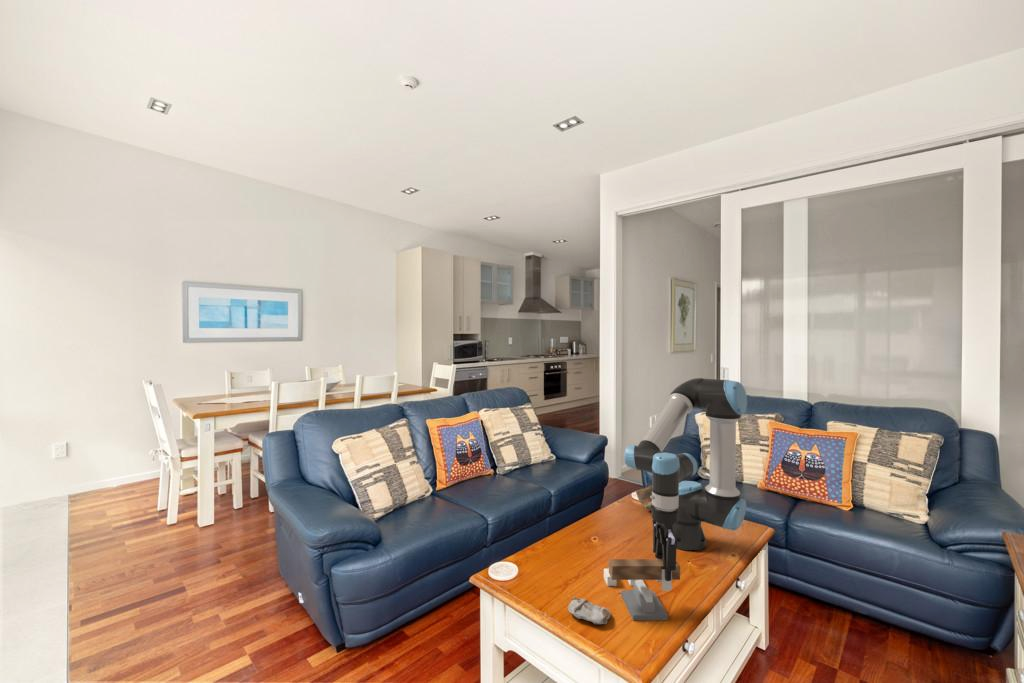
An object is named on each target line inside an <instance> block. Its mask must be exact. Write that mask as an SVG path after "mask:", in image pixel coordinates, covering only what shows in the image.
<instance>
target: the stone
mask: <svg viewBox="0 0 1024 683" xmlns="http://www.w3.org/2000/svg"><path fill="white" fill-rule="evenodd" d="M567 610H568V611H569V613H571V615H573V616H574V617H575V618H577V619H578V620H582V619H583V620H585V621H587V622H590V623H593V625H607V624H608V620H609V619H610V617H611V616H612V614H611V611H610V610H609V609H608V608H606V607H604V606H602V605H601V606H600V605H596V604H595V603H592V602H591V601H589V600H588V599H587V598H578V597H574V598H571V599H570V603H569V604H568V606H567Z"/></svg>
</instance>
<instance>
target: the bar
mask: <svg viewBox="0 0 1024 683" xmlns="http://www.w3.org/2000/svg"><path fill="white" fill-rule="evenodd" d="M661 566H663V559H657V558H647V559H646V558H642V559H641V558H635V559H634V558H632V559H631V558H630V559H629V558H628V559H627V558H623V559H622V558H619V559H618V558H609V559H608V568H609V574H610V576H611V578H612V580H617V581H618V580H619V581H621V580H622V581H625V580H626V581H628V580H643V581H651V580H653V581H656V580H662V569H661ZM675 580H677V581H679V580H680V581H681V565H680V564H679V562H677V560H676V570H672V581H675Z"/></svg>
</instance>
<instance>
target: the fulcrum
mask: <svg viewBox="0 0 1024 683" xmlns="http://www.w3.org/2000/svg"><path fill="white" fill-rule="evenodd" d="M632 588H633V589H632V590H626V589H625V590H620V595H621V598H622V601H623V603H624V605H625V606H626V609H627V611H628V613H629V615H630V617H631V619H632V621H669V614H668V612H667V611H666V609H665V607H664V605H663V604H662V603H661V601H660V599H659V598H658V596H657V594H656V593H655V591H654V589H653V590H652V589H649V588H648V587H647V585H646V584H645V582H644V580H635V583H633V586H632Z"/></svg>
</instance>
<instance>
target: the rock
mask: <svg viewBox="0 0 1024 683" xmlns="http://www.w3.org/2000/svg"><path fill="white" fill-rule="evenodd" d="M635 493H636V496H637V500H638V501H639V502H640V503H641V505H642V506H644V508H645V509H646V510H647V511H651V512H652V506H653V504H652V499H651V497H650V496H651V495H652V484H651V485H649V486H646V487H645V488H641V489H638V490H635Z"/></svg>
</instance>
